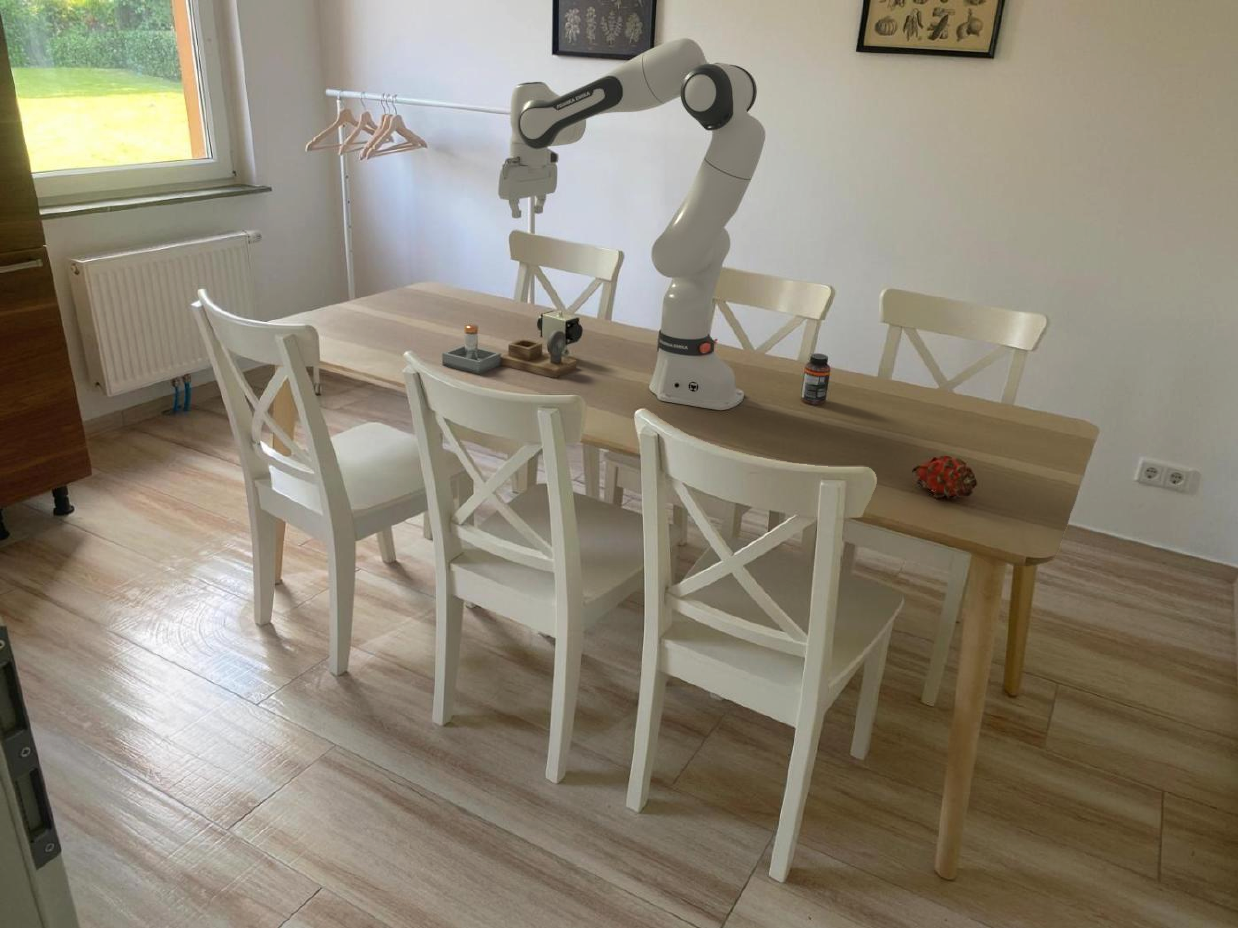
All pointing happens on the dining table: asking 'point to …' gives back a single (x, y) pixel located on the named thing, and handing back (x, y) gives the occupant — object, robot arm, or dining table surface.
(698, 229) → the robot arm
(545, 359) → the wooden desk organizer
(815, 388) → the supplement bottle
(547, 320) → the pneumatic valve
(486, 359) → the parts tray
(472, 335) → the lock pin
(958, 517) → the dining table surface
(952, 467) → the dragon fruit
